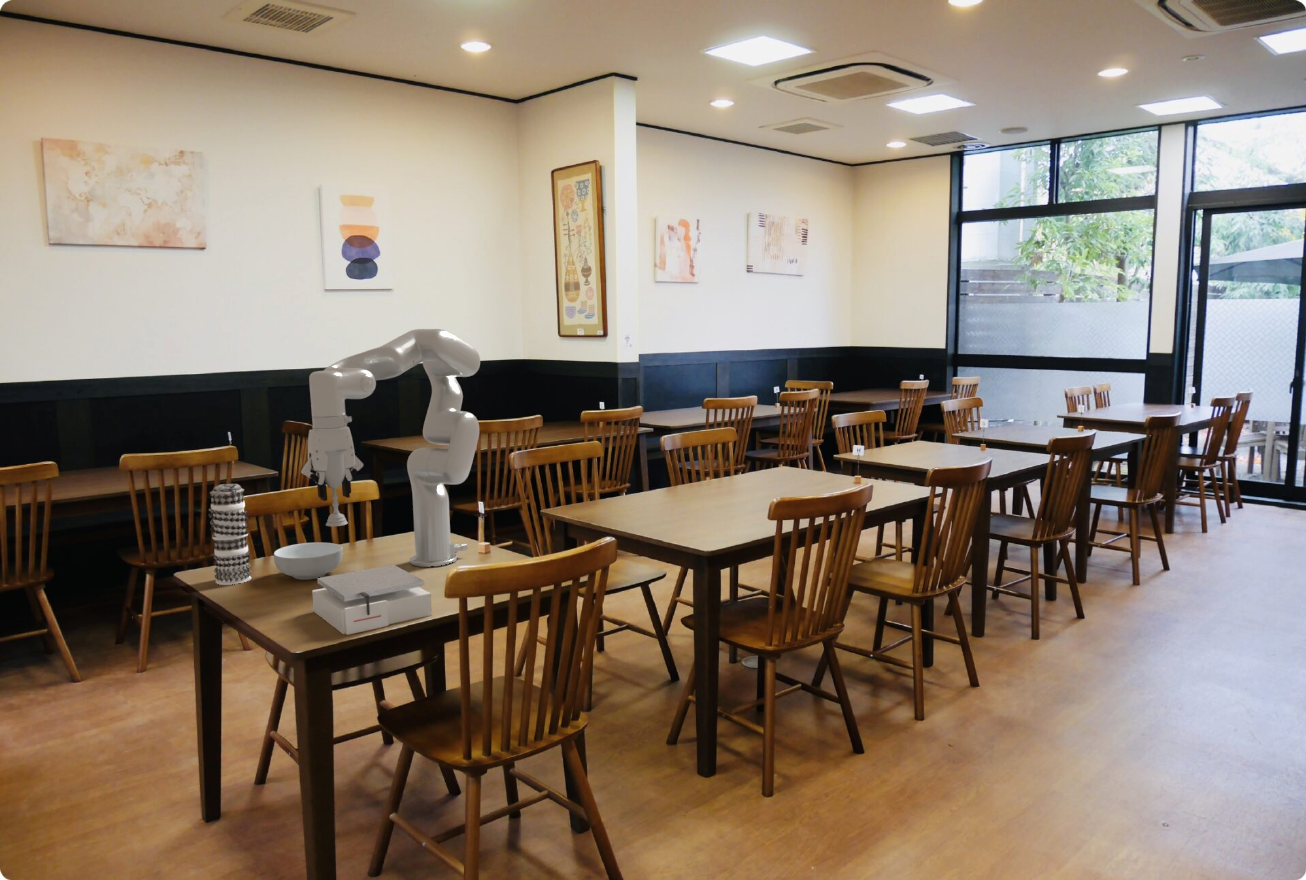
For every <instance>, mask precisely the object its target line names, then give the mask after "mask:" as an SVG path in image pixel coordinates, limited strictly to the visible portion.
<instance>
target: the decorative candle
mask: <svg viewBox="0 0 1306 880" xmlns="http://www.w3.org/2000/svg"><path fill="white" fill-rule="evenodd" d="M244 491H245V489H244V488H242V486H241V485H240V484H238V483H223V484H218V485H215V486H214V487H213V489H212V491H210V492H209V494H210V498H211V499H210V501H211V503H210V507H209V508H208V509H207V510H208V512H209V513H208V517H209V518H210V519H211V520H210V522H209V525H211V527H210V529H209V530H210V531H211V532H212V535H211V537H212V539H213V541H214V550H213V551H214V555H213V558H212V559H213V560H214V562H213V565H214V566H216V567H215V568H214V570H213V571H214V573H215V574H214V579H216V580H215V584H216V583H217V584H216V585H218V584H219V586H233V585H234V584H235V585H239V584H238V583H241V584H244V582H245V583H248V582H249V581H251V580H252V576H251V574H252V571H251V568H252V565H250V561H251V558H250V555H251V553H250V551H249V545H248V544H247V542H248V540H247V537H248V535H249V533H250V532H249V531H248V530H246V529H248V528H249V525H248V524H246V522H247V521H249V519H250V518H249V517H248V516H247V515H248V514H249V511H247V510H245V507H246V503H245V502H246V501H245V500H244ZM247 581H248V582H247ZM232 584H233V585H232Z"/></svg>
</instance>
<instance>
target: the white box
mask: <svg viewBox="0 0 1306 880" xmlns="http://www.w3.org/2000/svg"><path fill="white" fill-rule="evenodd" d="M316 580H317V584H318V585H319V586H321V587H322V588H325V589H327V590H328V591H330V592H331V593H333V594H334V595H336V596H337V597H339V598H340V599H342V600H343V601H350V600H355V599H360V598H366V606H367V615H370V609H369V597H370V596H375V595H380V594H386V593H391V592H396V591H401V590H406V589H411V588H416V587H420V588H422V587H425V580H424V579H422V578H419V577H418V576H417V575H414V574H412V573H410V572H408V571H407V570H404V569H403V568H400V567H399V566H397V565H395V564H390V565H384V566H378V567H372V568H368V569H362V570H361V569H360V570H357V571H351V572H350V571H349V572H345V573H340V574H332V575H329V576H323V577H320V578H316Z"/></svg>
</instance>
